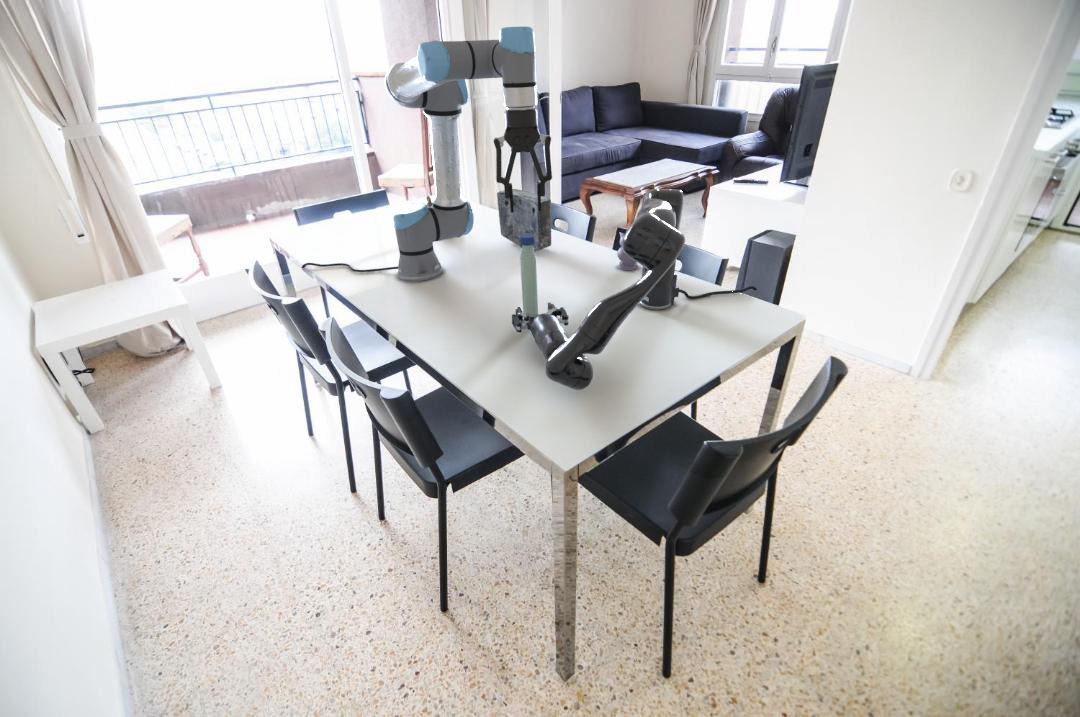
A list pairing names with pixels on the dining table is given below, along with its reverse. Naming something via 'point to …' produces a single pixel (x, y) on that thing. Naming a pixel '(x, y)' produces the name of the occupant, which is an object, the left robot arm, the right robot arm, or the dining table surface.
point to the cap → (527, 239)
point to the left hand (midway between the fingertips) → (525, 210)
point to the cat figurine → (625, 258)
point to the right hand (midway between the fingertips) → (533, 307)
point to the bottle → (529, 280)
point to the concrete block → (525, 218)
